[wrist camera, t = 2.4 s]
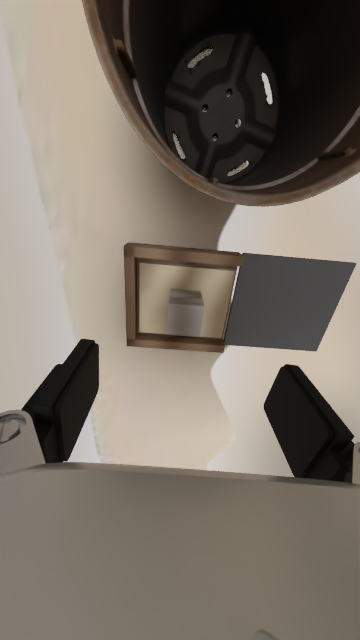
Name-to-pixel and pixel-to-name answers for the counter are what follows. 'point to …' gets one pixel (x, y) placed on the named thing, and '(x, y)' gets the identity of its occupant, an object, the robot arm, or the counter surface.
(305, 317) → the black mat
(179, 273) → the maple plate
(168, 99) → the plant pot
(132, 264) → the walnut box
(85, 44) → the counter surface
